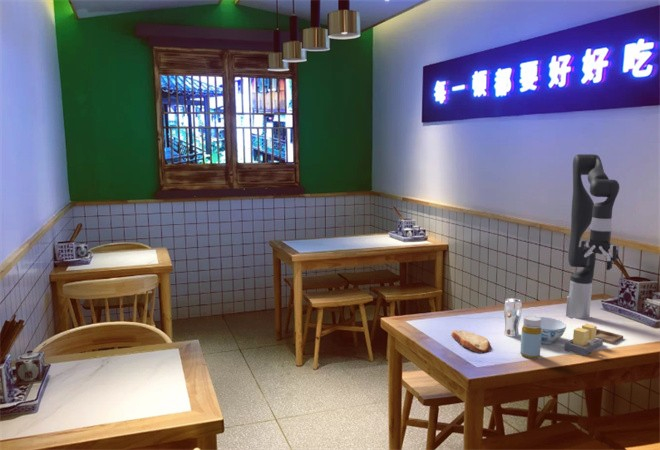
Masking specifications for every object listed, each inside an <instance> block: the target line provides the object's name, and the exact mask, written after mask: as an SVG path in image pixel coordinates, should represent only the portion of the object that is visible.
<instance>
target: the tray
mask: <svg viewBox="0 0 660 450" xmlns="http://www.w3.org/2000/svg"><path fill="white" fill-rule="evenodd" d="M596 338H599V339H603V343H606V344H609V345H615V344H616V343H619V341H621V340H623V339H624V335H621V334H618V333H615V332H610V331H607V330H603V329H598V328H597V330H596Z"/></svg>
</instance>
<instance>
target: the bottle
mask: <svg viewBox="0 0 660 450" xmlns="http://www.w3.org/2000/svg"><path fill="white" fill-rule="evenodd" d="M540 317H541V316H537V315H532V314H531V315H529V314H528V315H525V316H523V320H522V321H523V324H522V327H521V336H520V350H519V351H520V353H519V354H520V355H521V356H522V357H524V358H527V359H532V360H533V359H534V360H535V359H538V358H540V356H541V347H542V346H541V345H542V343H541V328H540V326H541V318H540Z"/></svg>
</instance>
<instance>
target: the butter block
mask: <svg viewBox="0 0 660 450" xmlns="http://www.w3.org/2000/svg"><path fill="white" fill-rule="evenodd" d="M572 336H573V338H572V339H573V344H575V345H579V346H582V347H585V346H587V345H588V336H589V330H587V329H583V328H582V327H576V328H574V329H573V335H572Z"/></svg>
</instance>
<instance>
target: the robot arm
mask: <svg viewBox="0 0 660 450" xmlns="http://www.w3.org/2000/svg"><path fill="white" fill-rule="evenodd" d="M582 176H587V182H588V183H589V185H590V186H589V192H588V191H587V190H586V188H585V186H584V184H583V179H582ZM619 192H620V183H619V182H618V180H617V179H609V176H608V175H607V174H606V173H605V170H604V166H603V162H602V159H601V158H600V156H599V155H598V154H592V153H591V154H587V153H586V154H585V153H584V154H582V153H581V154H575V155H574V157H573V160H572V200H571V211H570V212H571V217H570V218H571V220H570V222H571V223H570V224H571V225H570V227H571V228H570V236H569V246H568V252H567V253H568V255H567V256H568V257H567V259H568V264H569V266H570V267H573V268H581V269H580V270H579V271H576V272H574V273H572V274H571V275H570V280H569V291H568V292H569V294H568V295H567V297H566V308H565V309H566V310H565V316H566V317H568V318H570V319H578V320H579V319H580V320H587V319H590V316H591V303H592V300H591V299H592V291H593V279H594V274H595V266H596V261H597V258H596V257H597V254H599V255H603V256H604V258H606V271H610V270H611V269H613V262H614V261H617V260H619V245H618V244H615V245H614V244H613V245H612V244H611V237H612V229H613V228H612V227H613V223H612V218H613V207H614V205H615V201H616V199H617V197H618V194H619ZM589 193H590V194H589ZM590 195H591V196H593V197H596V198H606V199H605V200H603V201H601V202H596V203H594V201H593V199H592V197H591V196H590ZM589 227H590V233H589V241H587V240H585V239H584V240H582V241H581V239H582V237H583V235H584V233H585V232H586V231H587V229H588V228H589ZM580 241H581V242H580ZM580 244H581V245H580ZM610 249H611V251H612V253H611V252H610Z"/></svg>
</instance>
